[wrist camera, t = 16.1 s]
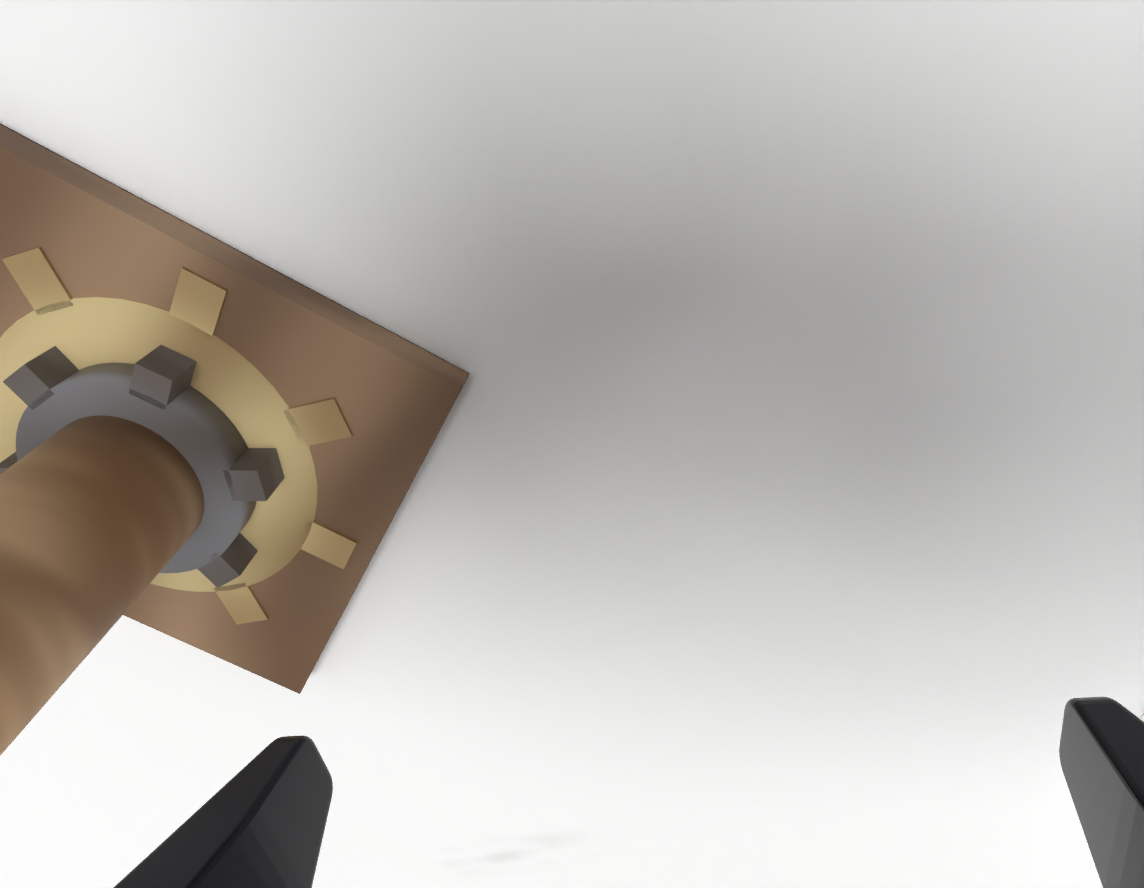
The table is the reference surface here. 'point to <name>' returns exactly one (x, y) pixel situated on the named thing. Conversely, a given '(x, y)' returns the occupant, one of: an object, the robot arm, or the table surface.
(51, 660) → the gear spindle
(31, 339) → the gear board
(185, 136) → the table surface
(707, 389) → the table surface
